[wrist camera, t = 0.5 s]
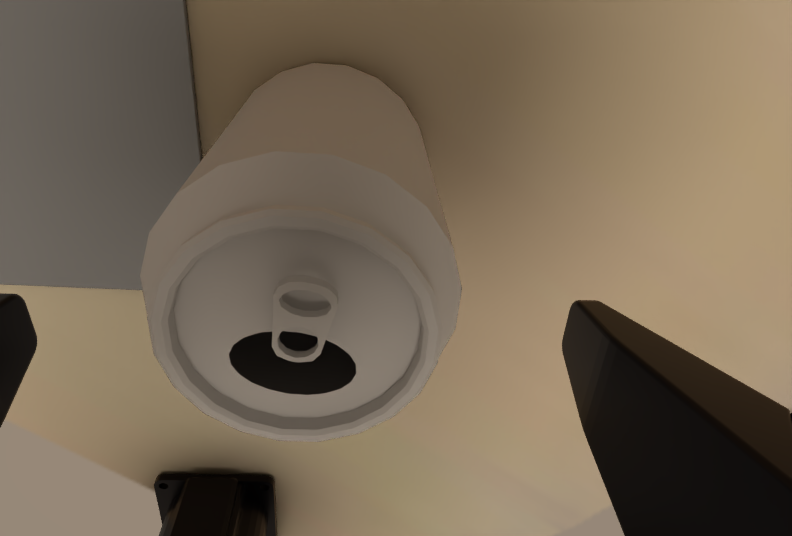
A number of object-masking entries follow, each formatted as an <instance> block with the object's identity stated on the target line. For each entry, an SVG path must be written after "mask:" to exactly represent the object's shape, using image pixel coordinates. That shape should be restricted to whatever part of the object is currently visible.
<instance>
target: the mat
mask: <svg viewBox="0 0 792 536" xmlns="http://www.w3.org/2000/svg"><path fill="white" fill-rule="evenodd" d="M201 160H202V155H201V145H200V135H199V126H198V116H197V106H196V96H195V87H194V77H193V67H192V58H191V48H190V38H189V29H188V19H187V9H186V0H0V284H4V285H28V286H53V287H77V288H102V289H126V290H143V289H142V283H141V278H140V273H141V269H142V264H143V259H144V255H145V250H146V245H147V240H148V236H149V232H150V231H151V229H152V228H153V226H154V225H155V223H156V222H157V221H158V219H159V218H160V216H161V215H162V214H163V212H164V211H165V209H166V208H167V206H168V205H169V204H170V202H171V201H172V199H173V198H174V196H175V195H176V194H177V192H178V191H179V190H180V188H181V187H182V186H183V184H184V183H185V182H186V180H187V179H188V178H189V176H190V175H191V174H192V172H193V171H194V170H195V168H196V167H197V166H198V164H199V163H200V162H201Z"/></svg>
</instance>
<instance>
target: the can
mask: <svg viewBox="0 0 792 536" xmlns="http://www.w3.org/2000/svg"><path fill="white" fill-rule="evenodd" d="M140 278H141V283H142V289H143V294H144V300H145V305H146V311H147V320H148V325H149V330H150V336H151V341H152V347H153V352H154V355H155V357H156V358H157V360H158V362H159V363H160V365H161V367H162V368H163V370H164V371H165V373H166V375H167V376H168V378H169V380H170V381H171V383H172V385H173V386H174V387H175V388H176V389H177V390H178V391H179V392H180V393H181V394H183V395H184V396H185V397H186V398H187V399H188V400H189V401H190V402H192V403H193V404H194V405H195V406H196V407H197V408H198V409H200V410H201V411H202V412H203V413H205V414H207V415H209V416H211V417H213V418H215V419H217V420H219V421H221V422H223V423H224V424H226V425H228V426H230V427H232V428H234V429H236V430H238V431H241V432H245V433H249V434H253V435H257V436H261V437H265V438H269V439H274V440H278V441H309V442H320V441H325V440H330V439H335V438H340V437H344V436H349V435H354V434H359V433H361V432H363V431H365V430H367V429H369V428H371V427H373V426H376V425H378V424H380V423H382V422H384V421H386V420H388V419H390V418H392V417H394V416H395V415H396V414H397V413H398V412H399V411H400V410H402V409H403V408H404V407H405V406H406V405H407V404H408V403H410V402H411V401H412V400H413V399H414V398H415V397H416V396H417V395H419V394H420V392H421V391H422V389H423V387H424V385H425V384H426V382H427V380H428V379H429V377H430V375H431V373H432V372H433V370H434V368H435V366H436V365H437V363H438V358H439V356H440V354H441V353H442V351H443V349H444V348H445V346H446V344H447V342H448V341H449V339H450V337H451V335H452V334H453V332H454V330H455V328H456V322H457V315H458V309H459V303H460V297H461V291H462V287H461V282H460V278H459V273H458V268H457V264H456V259H455V254H454V250H453V245H452V242H451V238H450V235H449V231H448V228H447V224H446V221H445V217H444V213H443V210H442V206H441V203H440V199H439V196H438V192H437V188H436V185H435V181H434V178H433V174H432V171H431V167H430V164H429V160H428V156H427V153H426V149H425V146H424V142H423V139H422V135H421V131H420V128H419V126H418V124H417V122H416V121H415V119H414V117H413V116H412V114H411V112H410V111H409V109H408V107H407V106H406V104H405V102H404V101H403V99H401V98H400V97H399V96H398V95H397V94H396V93H395V92H393V91H392V90H391V89H390V88H389V87H388V86H386V85H385V84H384V83H383V82H382V81H381V80H379V79H378V78H376V77H374V76H371V75H369V74H366V73H364V72H362V71H359V70H357V69H354V68H352V67H350V66H347V65H334V64H321V63H311V64H308V65H304V66H300V67H296V68H292V69H289V70H285V71H281V72H280V73H278V74H277V75H275V76H274V77H272V78H271V79H270V80H268V81H267V82H265V83H264V84H262V85H261V86H259V87H258V88H257V89H255V90H254V91H253V93H252V94H251V95H250V97H249V98H248V99H247V101H246V102H245V103H244V105H243V106H242V107H241V109H240V110H239V111H238V113H237V114H236V115H235V117H234V118H233V119H232V121H231V122H230V123H229V125H228V126H227V127H226V129H225V130H224V131H223V133H222V134H221V135H220V137H219V138H218V139H217V141H216V142H215V143H214V144H213V146H212V147H211V148H210V150H209V151H208V152H207V154H206V155H205V156H204V158H203V159H202V160H201V162H200V163H199V164H198V166H197V167H196V168H195V170H194V171H193V172H192V174H191V175H190V176H189V178H188V179H187V180H186V182H185V183H184V184H183V186H182V187H181V188H180V190H179V191H178V192H177V194H176V195H175V196H174V198H173V199H172V201H171V202H170V204H169V205H168V206H167V208H166V209H165V211H164V212H163V214H162V215H161V216H160V218H159V219H158V221H157V222H156V223H155V225H154V226H153V228H152V229H151V231H150V232H149V236H148V240H147V245H146V250H145V255H144V259H143V264H142V269H141V273H140Z"/></svg>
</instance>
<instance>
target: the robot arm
mask: <svg viewBox="0 0 792 536" xmlns="http://www.w3.org/2000/svg"><path fill="white" fill-rule="evenodd" d="M36 347H37V336H36V332H35V329H34V326H33V324H32V321H31V318H30V315H29V312H28V309H27V306H26V303H25V301H24V300H23V298H22V297H21V296H19V295H17V294H0V427H1V425H2V423H3V421H4V419H5V417H6V415H7V413H8V411H9V408H10V406H11V404H12V402H13V400H14V397H15V395H16V393H17V391H18V388H19V386H20V384H21V382H22V380H23V377H24V375H25V373H26V371H27V369H28V366H29V364H30V362H31V360H32V358H33V355H34V353H35V350H36ZM562 351H563V356H564V360H565V363H566V367H567V371H568V375H569V379H570V382H571V386H572V390H573V394H574V398H575V401H576V405H577V409H578V413H579V417H580V420H581V424H582V427H583V430H584V433H585V436H586V438H587V441H588V444H589V446H590V449H591V451H592V454H593V456H594V459H595V461H596V464H597V467H598V469H599V472H600V474H601V477H602V479H603V482H604V484H605V487H606V489H607V492H608V495H609V497H610V500H611V502H612V505H613V507H614V510H615V512H616V515H617V517H618V520H619V522H620V525H621V528H622V530H623V533H624V535H625V536H792V413H791V414H790V411H789V409H787V408H786V407H784V406H782V405H780V404H779V403H777V402H775V401H773V400H772V399H770V398H768V397H766V396H765V395H763V394H761V393H759V392H758V391H756V390H754V389H752V388H751V387H749V386H747V385H745V384H744V383H742V382H740V381H738V380H736V379H735V378H733V377H731V376H729V375H728V374H726V373H724V372H722V371H721V370H719V369H717V368H715V367H714V366H712V365H710V364H708V363H707V362H705V361H703V360H701V359H700V358H698V357H696V356H694V355H693V354H691V353H689V352H687V351H686V350H684V349H682V348H680V347H679V346H677V345H675V344H673V343H672V342H670V341H668V340H666V339H665V338H663V337H661V336H659V335H658V334H656V333H654V332H652V331H651V330H649V329H647V328H645V327H644V326H642V325H640V324H638V323H637V322H635V321H633V320H631V319H630V318H628V317H626V316H624V315H623V314H621V313H619V312H617V311H616V310H614V309H612V308H610V307H609V306H607V305H605V304H603V303H602V302H600V301H595V300H577V301H575V302H574V303H573V304H572V305H571V308H570V311H569V315H568V319H567V323H566V327H565V331H564V335H563V340H562ZM154 488H155V492H156V497H157V502H158V506H159V510H160V515H161V520H162V528H161V531H160V534H159V536H277V521H276V501H275V481H274V479H273V478H272V477H270V476H258V475H192V474H161V475H159V476H158V477H157V478H156V481H155V483H154Z"/></svg>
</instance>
